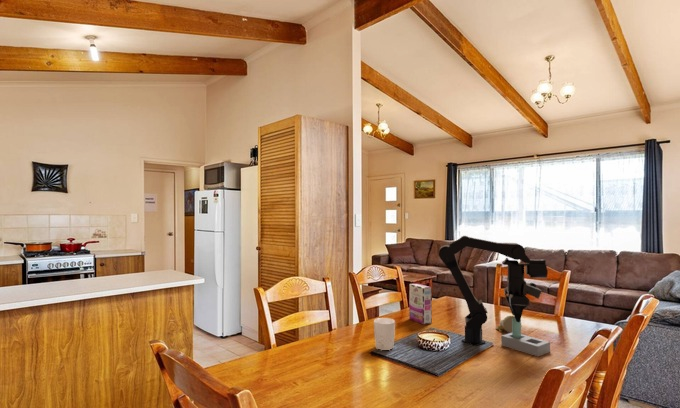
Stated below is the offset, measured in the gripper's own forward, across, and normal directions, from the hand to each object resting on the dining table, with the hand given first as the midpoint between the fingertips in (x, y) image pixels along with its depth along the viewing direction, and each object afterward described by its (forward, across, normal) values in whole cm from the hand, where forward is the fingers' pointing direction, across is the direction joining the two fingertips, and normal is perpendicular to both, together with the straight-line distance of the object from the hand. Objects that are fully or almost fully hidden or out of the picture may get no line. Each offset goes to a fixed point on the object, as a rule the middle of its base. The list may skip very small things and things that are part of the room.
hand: (516, 318), depth 145 cm
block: (+10, -2, -3) cm, 11 cm away
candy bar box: (+11, +24, +37) cm, 45 cm away
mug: (+10, +18, +1) cm, 21 cm away
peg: (+10, 0, 0) cm, 10 cm away
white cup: (+11, -15, +47) cm, 51 cm away
